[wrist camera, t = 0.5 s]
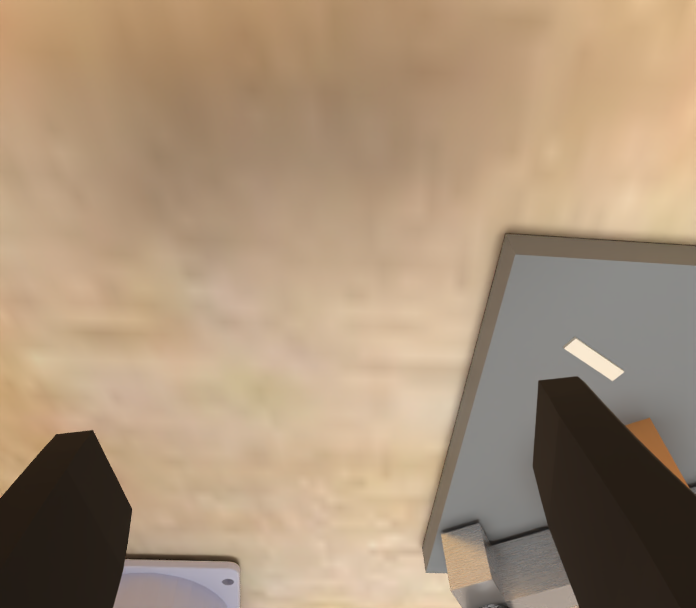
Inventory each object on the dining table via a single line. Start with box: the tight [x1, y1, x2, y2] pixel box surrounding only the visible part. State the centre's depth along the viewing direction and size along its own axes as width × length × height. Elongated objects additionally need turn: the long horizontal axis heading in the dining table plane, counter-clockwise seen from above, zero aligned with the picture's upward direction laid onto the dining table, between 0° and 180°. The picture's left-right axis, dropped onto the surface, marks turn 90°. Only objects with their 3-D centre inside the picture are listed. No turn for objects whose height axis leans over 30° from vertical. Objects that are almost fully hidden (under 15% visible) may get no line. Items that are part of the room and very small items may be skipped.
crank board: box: [422, 234, 696, 573], centre depth 24 cm, size 16×14×2 cm
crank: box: [441, 487, 696, 608], centre depth 25 cm, size 14×5×4 cm, turn 115°
